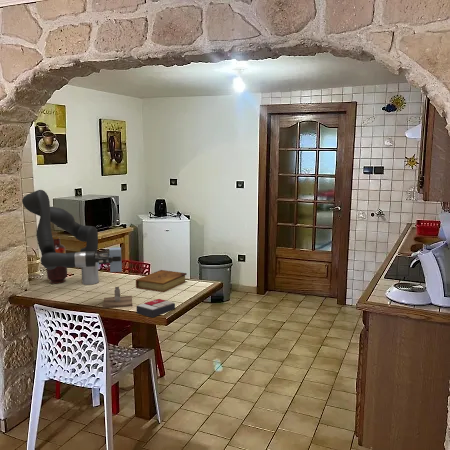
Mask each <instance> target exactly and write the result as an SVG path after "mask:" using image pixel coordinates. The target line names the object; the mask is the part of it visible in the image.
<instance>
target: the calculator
mask: <svg viewBox="0 0 450 450" xmlns="http://www.w3.org/2000/svg"><path fill="white" fill-rule="evenodd" d="M173 309H174V310H175V309H176V303H175V302H173V301H170V300H164V299H161V298H158V299H154V300H151V301H146V302H143V303H140V304H138V305H136V314H138V315H142V316H146V317H148V318H156V317H157V316H160V315H162V314H163V315H164V314H166V313H168V312H171V311H174V310H173Z"/></svg>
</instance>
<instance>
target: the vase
mask: <svg viewBox="0 0 450 450" xmlns="http://www.w3.org/2000/svg"><path fill="white" fill-rule="evenodd" d="M52 237H53V242H54V248H55V251H56V253H67V250H66V246H65V245H64V244H61V237H59V236H52ZM46 276H47V277H46V278H47V280H49V284H52V285H58V284H62V283H65V282H66V281H67V280H66V279H67V277H68V267H63V266H57V267H56V268H55V269H52V270H49V269H46Z"/></svg>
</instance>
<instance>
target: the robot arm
mask: <svg viewBox="0 0 450 450" xmlns="http://www.w3.org/2000/svg"><path fill="white" fill-rule="evenodd" d="M21 202H22V205H23V207H24V208H25V209H26V210H27V211H28V212H30V213H32V214H34V215H36V216H39V221H38V225H37V229H36V240H37V244H38V248H39V251H40V253H41V257H40V263H41V265H42V266H43V268H45V269H46V270H47V269H49V270H52V269H55V268H56V267H57V266H63V267H67V268H81V283H82V285H94V284H95V285H96V284H99V281H100V280H99V265H104V264H110V263H112V262H114V261H121V262H122V256H121V257H110V253H109V252H105V253H104V252H103V253H102V252H100V253H99V254H98V248H99V233H98V229H97V227H96V226H92V225H83V224H80V223H79V222H76V221H75V220H76V219H75V217H74V216H73V214H72V213H70V212H68V211H67V210H65V209H64V208H60V207H55V206H51V203H50V202H51V201H50V199H49V195H48V193H47V192H46V191H45V190H43V189H38V190H35V191H32V192H31V193H28V194H26V195H25V196H23V197H22V201H21ZM51 224H53V225H54V226H56V227H58V228H60V229H62V230H64V231H65V232H68V233H69V234H70V235H71V236H73V237H74V238H75V239H76V240H78V241H79V242H83V243H86V246H85V247H83V248H80V250H79V252H66V253H56V251H55V248H54V242H53V237H54V236H53V233H52V225H51Z"/></svg>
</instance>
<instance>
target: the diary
mask: <svg viewBox="0 0 450 450" xmlns="http://www.w3.org/2000/svg"><path fill="white" fill-rule="evenodd" d="M186 276H187V273H186V272H181V271H180V272H179V271H174V270H173V271H172V270H165V269H164V270H163V269H159V270H158V271H155V272H152V273H150V274H146V275H144V276H142V277H138V278H137V279H136V280H135V289H141V290H147V291H152V292H159V293H165V292H168V291H170V290H171V289H175V288H177V287H179V286H180V285H183V284H185V283H188V281H187V280H186Z"/></svg>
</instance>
